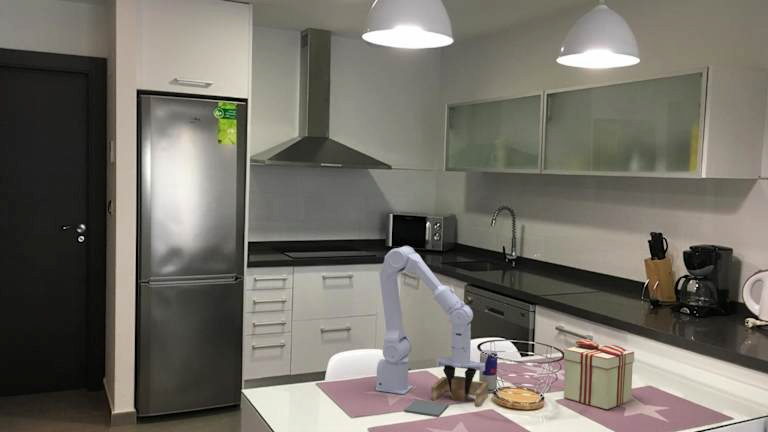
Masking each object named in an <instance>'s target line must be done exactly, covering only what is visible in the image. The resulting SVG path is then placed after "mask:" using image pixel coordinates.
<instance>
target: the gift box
mask: <svg viewBox="0 0 768 432" xmlns="http://www.w3.org/2000/svg"><path fill="white" fill-rule="evenodd" d="M575 344H576V345H575V346H572V347H569V348H565V349H564V350H563V360H564V380H563V382H564V383H563V384H564V387H563V398H565V399H568V400H571V401H575V402H578V403H581V404H586V405H589V406H592V407H597V408H598V409H604V410H610V409H611V408H615V407H618V406H621V405H623V404H626V403H628V402H631V401H632V391H633V390H632V387H633V386H632V385H633V384H632V383H633V363H635V352H634V351H631V350H627V349H625V348H623V347H621V346H619V345H616V344H615V345H614V344H611V345H609V344H606V345H601V344H599V343H597V342H595V341H593V340H590V339H587V338H586V339H585V338H584V339H583V338H582V339H581V338H580V339H579V340H577V341H575Z"/></svg>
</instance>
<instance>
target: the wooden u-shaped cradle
mask: <svg viewBox="0 0 768 432" xmlns="http://www.w3.org/2000/svg"><path fill="white" fill-rule="evenodd" d="M430 390H431V392H430V393H431V397H430V398H431V401H436V400H437V399H439V398H440V396H442V394H443V393H444V392H449V393H451V392H450V387H449V383H448V380H447V377H446V376H442V377H441V378H440V379H438V380H437V381H436V382H435V383H434V384H433V385H432V386H431V389H430ZM468 395H473V396H474V397H475V399H474V401H475V404H474V405H475V407H480V406H481V405H482V404H483V403H484V402H485V400H486V398H487V397H488V396H489V393H488V382H481V381H479V380H472V382H471V386H470V390H469V393H468Z"/></svg>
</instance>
